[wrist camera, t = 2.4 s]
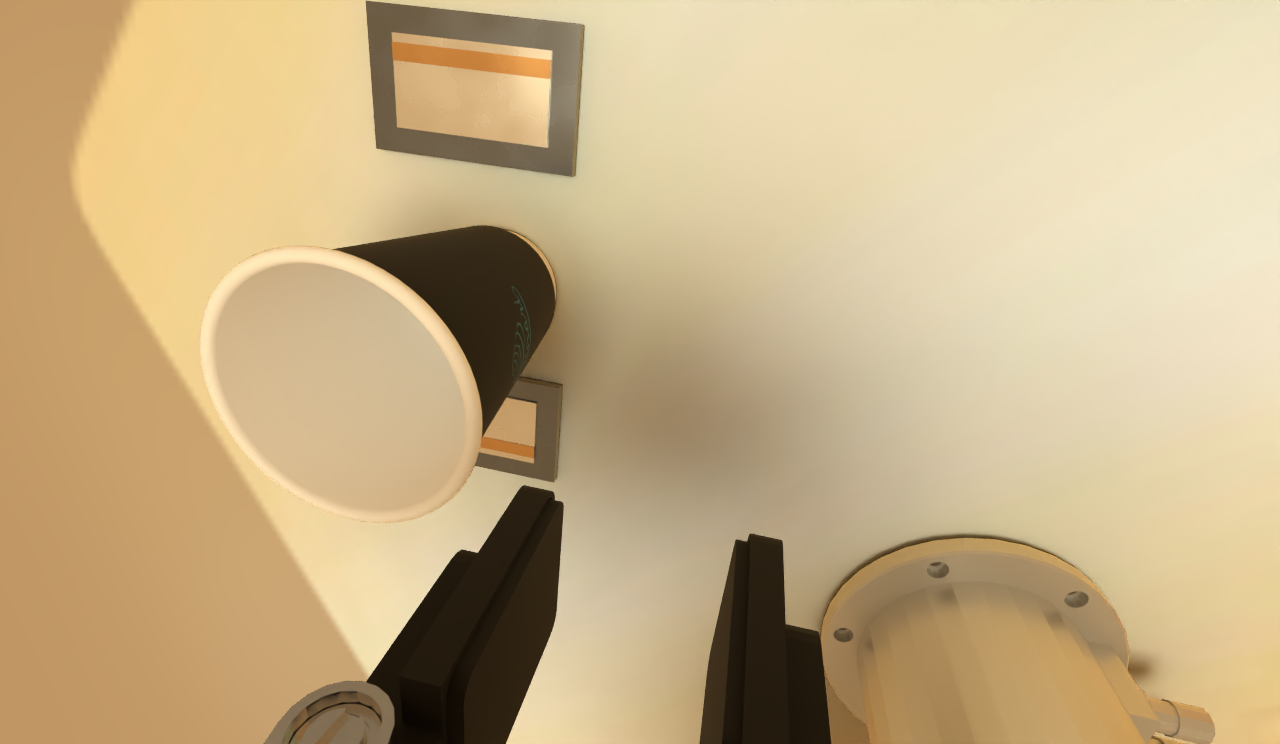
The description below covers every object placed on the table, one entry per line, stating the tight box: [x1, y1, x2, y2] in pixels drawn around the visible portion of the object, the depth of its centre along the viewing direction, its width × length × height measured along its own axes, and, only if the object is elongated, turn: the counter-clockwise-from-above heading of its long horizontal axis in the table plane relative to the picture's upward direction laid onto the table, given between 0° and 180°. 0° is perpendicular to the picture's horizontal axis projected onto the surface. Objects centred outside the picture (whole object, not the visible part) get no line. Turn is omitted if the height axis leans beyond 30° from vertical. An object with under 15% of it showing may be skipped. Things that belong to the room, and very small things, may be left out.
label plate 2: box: [474, 377, 562, 482], centre depth 28 cm, size 8×5×1 cm, turn 83°
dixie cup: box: [200, 226, 556, 523], centre depth 21 cm, size 8×8×11 cm
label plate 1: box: [366, 1, 584, 176], centre depth 22 cm, size 8×5×1 cm, turn 83°
